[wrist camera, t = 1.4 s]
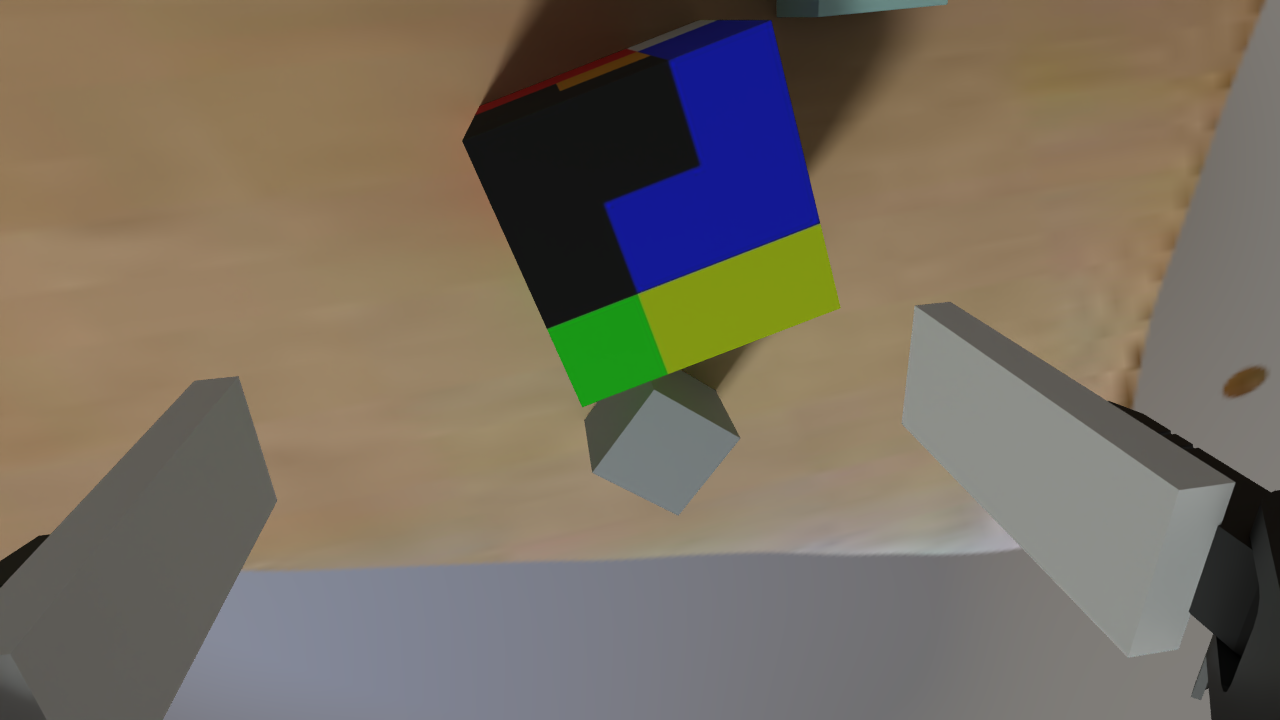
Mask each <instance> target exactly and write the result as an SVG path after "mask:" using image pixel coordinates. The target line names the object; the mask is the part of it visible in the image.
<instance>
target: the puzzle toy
mask: <svg viewBox="0 0 1280 720" xmlns="http://www.w3.org/2000/svg"><path fill="white" fill-rule="evenodd" d="M462 142H463V144H464V146H465V148H466V150H467V153H468V155H469V157H470V159H471V161H472V164H473V166H474V168H475V170H476V173H477V175H478V177H479V179H480V181H481V184H482V186H483V188H484V190H485V193H486V195H487V197H488V199H489V201H490V204H491V206H492V208H493V210H494V212H495V215H496V217H497V219H498V221H499V224H500V226H501V228H502V230H503V232H504V235H505V237H506V239H507V241H508V244H509V246H510V248H511V250H512V252H513V255H514V257H515V259H516V261H517V263H518V266H519V268H520V270H521V272H522V275H523V277H524V279H525V281H526V283H527V286H528V288H529V290H530V292H531V294H532V297H533V299H534V301H535V303H536V306H537V308H538V310H539V312H540V314H541V317H542V319H543V321H544V323H545V326H546V328H547V330H548V332H549V334H550V337H551V339H552V341H553V343H554V345H555V348H556V350H557V352H558V354H559V357H560V359H561V361H562V363H563V365H564V368H565V370H566V372H567V374H568V377H569V379H570V381H571V383H572V385H573V388H574V390H575V392H576V394H577V396H578V399H579V401H580V403H581V405H582V407H584V406H587V405H589V404H592V403H595V402H597V401H600V400H602V399H605V398H608V397H610V396H613V395H615V394H618V393H621V392H623V391H626V390H628V389H631V388H634V387H636V386H639V385H641V384H644V383H647V382H649V381H652V380H654V379H657V378H660V377H662V376H665V375H667V374H670V373H673V372H675V371H678V370H680V369H683V368H686V367H688V366H691V365H693V364H696V363H699V362H701V361H704V360H707V359H709V358H712V357H714V356H717V355H720V354H722V353H725V352H727V351H730V350H733V349H735V348H738V347H740V346H743V345H746V344H748V343H751V342H753V341H756V340H759V339H761V338H764V337H766V336H769V335H772V334H774V333H777V332H779V331H782V330H785V329H787V328H790V327H792V326H795V325H798V324H800V323H803V322H805V321H808V320H811V319H813V318H816V317H819V316H821V315H824V314H826V313H829V312H832V311H834V310H837V309H839V308H840V304H839V299H838V295H837V291H836V287H835V283H834V279H833V275H832V270H831V266H830V262H829V258H828V254H827V250H826V245H825V241H824V237H823V233H822V229H821V225H820V221H819V216H818V212H817V208H816V204H815V200H814V196H813V191H812V187H811V183H810V179H809V175H808V171H807V166H806V162H805V158H804V154H803V150H802V146H801V142H800V137H799V133H798V129H797V125H796V121H795V117H794V112H793V108H792V104H791V100H790V96H789V92H788V87H787V83H786V79H785V75H784V71H783V67H782V63H781V58H780V54H779V50H778V46H777V42H776V38H775V33H774V29H773V25H772V21H771V20H698V21H696V22H693V23H690V24H688V25H685V26H683V27H680V28H678V29H675V30H673V31H670V32H668V33H665V34H662V35H660V36H657V37H655V38H652V39H650V40H647V41H645V42H642V43H640V44H637V45H634V46H632V47H629V48H627V49H624V50H622V51H619V52H617V53H614V54H611V55H609V56H606V57H604V58H601V59H599V60H596V61H594V62H591V63H589V64H586V65H583V66H581V67H578V68H576V69H573V70H571V71H568V72H566V73H563V74H561V75H558V76H555V77H553V78H550V79H548V80H545V81H543V82H540V83H538V84H535V85H532V86H530V87H527V88H525V89H522V90H520V91H517V92H515V93H512V94H510V95H507V96H504V97H502V98H499V99H497V100H494V101H492V102H489V103H487V104H484V105H481V106H479V108H478V110H477V112H476V114H475V116H474V118H473V120H472V122H471V124H470V126H469V128H468V130H467V132H466V134H465V136H464V138H463V140H462Z"/></svg>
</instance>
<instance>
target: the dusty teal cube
mask: <svg viewBox="0 0 1280 720" xmlns="http://www.w3.org/2000/svg"><path fill="white" fill-rule="evenodd" d="M947 1H948V0H777V17H824V16H835V15H845V14H855V13H865V12H875V11H885V10H895V9H905V8H915V7H925V6H935V5H946V4H947Z"/></svg>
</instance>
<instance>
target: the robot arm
mask: <svg viewBox="0 0 1280 720" xmlns="http://www.w3.org/2000/svg"><path fill="white" fill-rule="evenodd" d="M902 424H903V425H904V427H905V428H906V429H907V430H908V431H909V432H910V433H911V434H912V435H913V436H914V437H915V438H916V439H917V440H918V441H919V442H920V443H921V444H922V445H923V446H924V447H925V448H926V449H927V450H928V451H929V452H930V453H931V454H932V455H933V457H934V458H935V459H936V460H937V461H938V462H939V463H940V464H941V465H942V466H943V467H944V468H945V469H946V470H947V471H948V472H949V473H950V474H951V475H952V476H953V477H954V478H955V479H956V480H957V481H958V482H959V483H960V484H961V485H962V487H963V488H964V489H965V490H966V491H967V492H968V493H969V494H970V495H971V496H972V497H973V498H974V499H975V500H976V501H977V502H978V503H979V504H980V505H981V506H982V507H983V508H984V509H985V510H986V511H987V512H988V513H989V514H990V515H991V517H992V518H993V519H994V520H995V521H996V522H997V523H998V524H999V525H1000V526H1001V527H1002V528H1003V529H1004V530H1005V531H1006V532H1007V533H1008V534H1009V535H1010V536H1011V537H1012V538H1013V539H1014V540H1015V541H1016V542H1017V543H1018V544H1019V545H1020V547H1021V548H1022V549H1023V550H1024V551H1025V552H1026V553H1027V554H1028V555H1030V557H1031V558H1032V559H1033V560H1034V561H1035V562H1036V563H1037V564H1038V565H1039V566H1040V567H1041V568H1042V569H1043V570H1044V571H1045V572H1046V573H1047V574H1048V575H1049V576H1050V577H1051V578H1052V580H1053V581H1054V582H1055V583H1056V584H1057V585H1058V586H1059V587H1060V588H1061V589H1062V590H1063V591H1064V592H1065V593H1066V594H1067V595H1068V596H1069V597H1070V598H1071V599H1072V600H1073V601H1074V602H1075V603H1076V604H1077V605H1078V606H1079V607H1080V609H1081V610H1082V611H1083V612H1084V613H1085V614H1086V615H1087V616H1088V617H1089V618H1090V619H1091V620H1092V621H1093V622H1094V623H1095V624H1096V625H1097V626H1098V627H1099V628H1100V629H1101V630H1102V631H1103V632H1104V633H1105V634H1106V635H1107V636H1108V638H1109V639H1111V641H1112V642H1113V643H1114V644H1115V645H1116V646H1117V647H1118V648H1119V649H1120V650H1121V651H1122V652H1123V653H1124V654H1125V655H1126V656H1127V657H1128V658H1129V657H1135V656H1140V655H1147V654H1152V653H1159V652H1165V651H1171V650H1177V649H1179V646H1180V643H1181V640H1182V637H1183V634H1184V632H1185V629H1186V626H1187V623H1188V619H1189V617H1190V614H1191V615H1193V616H1194V617H1195V618H1196V619H1197V620H1198V621H1200V622H1201V623H1202V624H1203V625H1204V626H1205V627H1207V628H1208V629H1209V630H1210V631H1211V632H1212V633H1213V636H1212V639H1211V642H1210V645H1209V647H1208V650H1207V653H1206V656H1205V658H1204V661H1203V664H1202V666H1201V669H1200V672H1199V675H1198V677H1197V680H1196V683H1195V686H1194V689H1193V692H1192V695H1191V697H1193V698H1196V699H1199V700H1201V699H1202V696H1203V693H1204V691H1205V690H1206V689H1208V688H1209V695H1210V708H1211V719H1212V720H1280V490H1278V491H1274V492H1269V491H1268V490H1266V489H1264V488H1263V487H1261V486H1260V485H1258V484H1256V483H1255V482H1253V481H1251V480H1250V479H1248V478H1246V477H1245V476H1243V475H1242V474H1240V473H1238V472H1237V471H1235V470H1233V469H1232V468H1230V467H1229V466H1227V465H1226V464H1224V463H1222V462H1221V461H1219V460H1217V459H1216V458H1214V457H1213V456H1211V455H1209V454H1208V453H1206V452H1204V451H1203V450H1201V449H1200V448H1193V444H1191V443H1190V442H1188V441H1187V440H1185V439H1183V438H1182V437H1180V436H1178V435H1176V434H1171V431H1170V430H1168V429H1167V428H1165V427H1164V426H1162V425H1160V424H1159V423H1157V422H1156V421H1154V420H1152V419H1151V418H1149V417H1147V416H1146V415H1144V414H1142V413H1139V412H1137V411H1134V410H1132V409H1129V408H1126V407H1124V406H1121V405H1118V404H1116V403H1113V402H1110V401H1106V400H1105V399H1103V398H1101V397H1100V396H1098V395H1097V394H1095V393H1094V392H1092V391H1090V390H1089V389H1087V388H1086V387H1084V386H1082V385H1081V384H1079V383H1078V382H1076V381H1075V380H1073V379H1071V378H1070V377H1068V376H1067V375H1065V374H1064V373H1062V372H1060V371H1059V370H1057V369H1056V368H1054V367H1052V366H1051V365H1049V364H1048V363H1046V362H1045V361H1043V360H1041V359H1040V358H1038V357H1037V356H1035V355H1033V354H1032V353H1030V352H1029V351H1027V350H1026V349H1024V348H1022V347H1021V346H1019V345H1018V344H1016V343H1015V342H1013V341H1011V340H1010V339H1008V338H1007V337H1005V336H1003V335H1002V334H1000V333H999V332H997V331H996V330H994V329H992V328H991V327H989V326H988V325H986V324H984V323H983V322H981V321H980V320H978V319H977V318H975V317H973V316H972V315H970V314H969V313H967V312H965V311H964V310H962V309H961V308H959V307H958V306H956V305H954V304H953V303H951V302H945V303H935V304H925V305H916V306H915V309H914V318H913V327H912V336H911V345H910V354H909V363H908V372H907V381H906V390H905V399H904V408H903V417H902ZM276 502H277V498H276V495H275V492H274V489H273V485H272V482H271V479H270V476H269V473H268V469H267V466H266V463H265V460H264V457H263V453H262V450H261V447H260V444H259V441H258V437H257V434H256V431H255V428H254V425H253V421H252V418H251V415H250V412H249V408H248V405H247V402H246V399H245V396H244V392H243V389H242V386H241V383H240V380H239V376H236V377H227V378H217V379H208V380H198V381H194V382H193V383H192V384H191V385H190V386H189V387H188V388H187V389H186V390H185V391H184V393H183V394H182V395H181V396H180V397H179V398H178V399H177V400H176V401H175V402H174V403H173V404H172V405H171V406H170V407H169V409H168V410H167V411H166V412H165V413H164V414H163V415H162V416H161V417H160V418H159V419H158V420H157V421H156V422H155V423H154V425H153V426H152V427H151V428H150V429H149V430H148V431H147V432H146V433H145V434H144V435H143V436H142V437H141V438H140V439H139V441H138V442H137V443H136V444H135V445H134V446H133V447H132V448H131V449H130V450H129V451H128V452H127V453H126V454H125V455H124V457H123V458H122V459H121V460H120V461H119V462H118V463H117V464H116V465H115V466H114V467H113V468H112V469H111V470H110V471H109V473H108V474H107V475H106V476H105V477H104V478H103V479H102V480H101V481H100V482H99V483H98V484H97V485H96V486H95V487H94V489H93V490H92V491H91V492H90V493H89V494H88V495H87V496H86V497H85V498H84V499H83V500H82V501H81V502H80V504H79V505H78V506H77V507H76V508H75V509H74V510H73V511H72V512H71V513H70V514H69V515H68V516H67V517H66V518H65V520H64V521H63V522H62V523H61V524H60V525H59V526H58V527H57V528H56V529H55V530H54V531H53V532H52V533H51V534H50V535H42V536H38V537H36V538H35V539H33V540H32V541H30V542H29V543H27V544H26V545H24V546H23V547H21V548H20V549H18V550H17V551H15V552H14V553H12V554H10V555H9V556H7V557H6V558H4V559H3V560H1V561H0V720H163V718H164V716H165V715H166V713H167V711H168V709H169V707H170V705H171V703H172V701H173V699H174V697H175V695H176V693H177V692H178V690H179V688H180V686H181V684H182V682H183V680H184V678H185V676H186V674H187V672H188V670H189V669H190V666H191V665H192V663H193V661H194V659H195V657H196V655H197V653H198V651H199V649H200V647H201V646H202V644H203V642H204V640H205V638H206V636H207V634H208V632H209V630H210V628H211V626H212V624H213V623H214V621H215V619H216V617H217V615H218V613H219V611H220V609H221V607H222V605H223V603H224V601H225V600H226V598H227V596H228V594H229V592H230V590H231V588H232V586H233V584H234V582H235V580H236V578H237V576H238V575H239V573H240V571H241V569H242V567H243V565H244V563H245V561H246V559H247V557H248V556H249V554H250V552H251V550H252V548H253V546H254V544H255V542H256V540H257V538H258V536H259V534H260V533H261V531H262V529H263V527H264V525H265V523H266V521H267V519H268V517H269V515H270V513H271V512H272V510H273V508H274V506H275V504H276Z"/></svg>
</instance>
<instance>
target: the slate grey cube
mask: <svg viewBox="0 0 1280 720" xmlns="http://www.w3.org/2000/svg"><path fill="white" fill-rule="evenodd" d="M584 421H585V428H586V435H587V441H588V448H589V454H590V461H591V467H592V473H594V474H596V475H598V476H600V477H602V478H604V479H606V480H608V481H610V482H612V483H614V484H616V485H618V486H620V487H622V488H624V489H626V490H628V491H630V492H632V493H634V494H636V495H638V496H640V497H642V498H644V499H646V500H648V501H650V502H652V503H654V504H656V505H658V506H660V507H662V508H664V509H666V510H668V511H670V512H672V513H674V514H676V515H679V514H680V513H681V512H682V510H683V509H684V508H685V507H686V505H687V504H688V503H689V502H690V500H691V499H692V498H693V497H694V495H695V494H696V493H697V492H698V490H699V489H700V488H701V487H702V485H703V484H704V483H705V482H706V480H707V479H708V478H709V477H710V475H711V474H712V473H713V472H714V471H715V469H716V468H717V467H718V466H719V464H720V463H721V462H722V461H723V459H724V458H725V457H726V456H727V454H728V453H729V452H730V451H731V449H732V448H733V447H734V446H735V444H736V443H737V442H738V441H739V439H740V436H739V435H738V433H737V431H736V429H735V427H734V425H733V423H732V421H731V419H730V417H729V415H728V413H727V412H726V410H725V408H724V406H723V404H722V402H721V400H720V398H719V396H718V394H717V392H716V390H714V389H712V388H710V387H709V386H707V385H705V384H704V383H702V382H700V381H699V380H697V379H695V378H693V377H692V376H690V375H688V374H687V373H685V372H683V371H681V370H678V371H675V372H673V373H670V374H667V375H665V376H662V377H660V378H657V379H654V380H652V381H649V382H647V383H644V384H641V385H639V386H636V387H634V388H631V389H628V390H626V391H623V392H621V393H618V394H615V395H613V396H610V397H608V398H605V399H602V400H600V401H598V402H597V404H596V405H595V406H594V408H593V409H592V410H591V412H590V413H589V415H588V416H587V417H586V419H585V420H584Z"/></svg>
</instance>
